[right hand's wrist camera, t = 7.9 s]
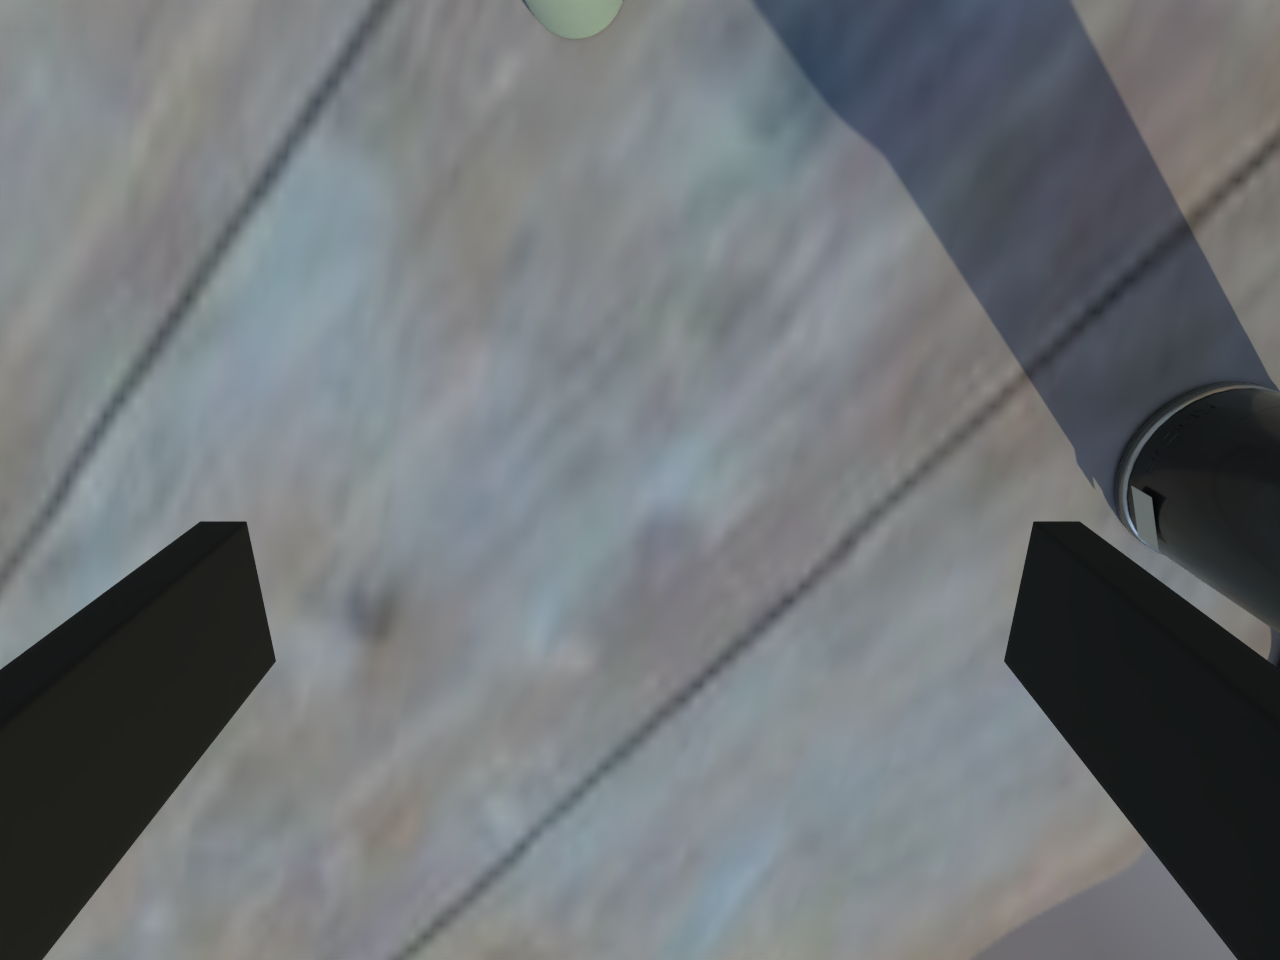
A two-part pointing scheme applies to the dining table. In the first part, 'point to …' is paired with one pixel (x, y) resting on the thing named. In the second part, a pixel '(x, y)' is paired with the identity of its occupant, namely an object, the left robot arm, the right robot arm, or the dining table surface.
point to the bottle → (574, 16)
